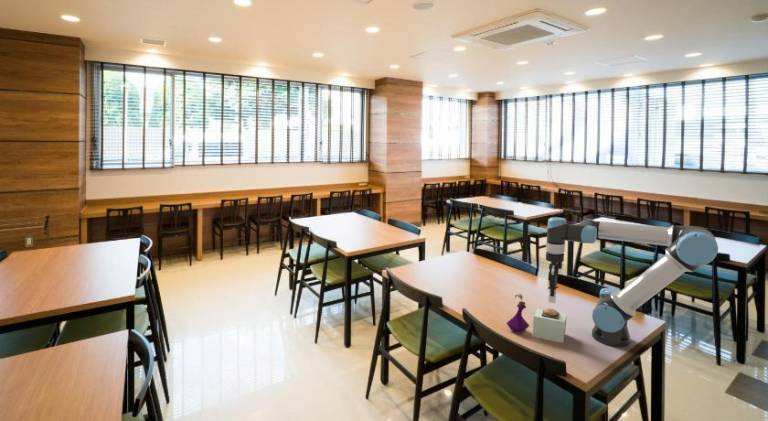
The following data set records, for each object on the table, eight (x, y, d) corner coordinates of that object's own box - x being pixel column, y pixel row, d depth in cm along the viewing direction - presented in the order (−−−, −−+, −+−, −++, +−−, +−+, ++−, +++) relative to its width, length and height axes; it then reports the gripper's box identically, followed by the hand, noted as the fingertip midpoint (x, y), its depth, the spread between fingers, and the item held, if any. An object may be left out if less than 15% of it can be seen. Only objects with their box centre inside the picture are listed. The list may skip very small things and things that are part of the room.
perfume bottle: (529, 331, 189) (531, 295, 186) (518, 335, 185) (520, 298, 182) (516, 325, 195) (518, 290, 192) (505, 329, 191) (507, 293, 188)
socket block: (565, 334, 186) (566, 312, 185) (563, 343, 178) (565, 320, 176) (535, 327, 193) (537, 307, 191) (532, 336, 184) (533, 314, 182)
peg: (556, 330, 186) (557, 310, 184) (555, 335, 181) (556, 314, 180) (543, 327, 189) (544, 307, 187) (541, 332, 184) (543, 312, 182)
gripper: (547, 247, 186) (545, 296, 190) (544, 254, 175) (541, 305, 178) (565, 249, 182) (562, 298, 186) (562, 256, 171) (559, 308, 175)
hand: (552, 302), depth 182 cm, fingers closed
